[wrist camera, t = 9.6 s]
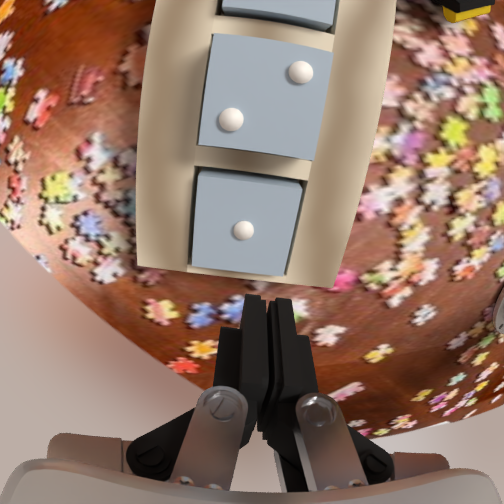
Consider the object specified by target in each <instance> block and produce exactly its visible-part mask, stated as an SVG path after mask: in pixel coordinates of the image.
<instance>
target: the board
mask: <svg viewBox="0 0 504 504" xmlns="http://www.w3.org/2000/svg"><path fill="white" fill-rule="evenodd" d="M396 1H397V0H336V3H335V10H334V17H333V24H332V26H330V27H329V28H328V29H326V30H325V31H324V32H321V31H317V30H313V29H308V28H304V27H299V26H294V25H289V24H283V23H278V22H271V21H265V20H258V19H250V18H241V17H231V16H225V15H224V12H223V8H222V4H223V0H156V4H155V8H154V13H153V18H152V24H151V29H150V35H149V41H148V47H147V53H146V60H145V67H144V75H143V83H142V92H141V102H140V113H139V126H138V141H137V162H136V244H137V265H138V266H145V267H152V268H160V269H167V270H175V271H183V272H191V273H199V274H207V275H216V276H224V277H233V278H242V279H251V280H260V281H269V282H278V283H288V284H298V285H308V286H318V287H329V288H333V285H334V282H335V279H336V276H337V273H338V270H339V267H340V264H341V261H342V258H343V255H344V252H345V248H346V245H347V242H348V239H349V235H350V232H351V229H352V225H353V222H354V218H355V215H356V211H357V208H358V204H359V200H360V197H361V193H362V189H363V185H364V181H365V177H366V174H367V169H368V165H369V161H370V157H371V153H372V149H373V144H374V140H375V135H376V131H377V126H378V121H379V116H380V111H381V106H382V101H383V95H384V90H385V84H386V78H387V72H388V66H389V60H390V53H391V46H392V38H393V30H394V21H395V12H396ZM214 33H220V34H232V35H242V36H250V37H258V38H265V39H271V40H277V41H283V42H288V43H294V44H299V45H303V46H308V47H312V48H317V49H321V50H325V51H329V52H333V53H334V55H333V61H332V67H331V73H330V78H329V84H328V90H327V96H326V101H325V106H324V112H323V117H322V123H321V128H320V133H319V138H318V143H317V148H316V153H315V158H314V161H312V160H306V159H301V158H295V157H289V156H283V155H277V154H270V153H263V152H256V151H249V150H242V149H234V148H225V147H216V146H207V145H198V144H199V135H200V126H201V118H202V110H203V102H204V94H205V87H206V80H207V73H208V67H209V60H210V54H211V48H212V42H213V36H214ZM204 166H205V167H215V168H223V169H232V170H240V171H248V172H255V173H262V174H269V175H276V176H282V177H289V178H295V179H297V181H298V183H299V184H300V186H301V188H302V194H301V199H300V204H299V208H298V213H297V217H296V222H295V227H294V231H293V236H292V240H291V244H290V249H289V253H288V258H287V262H286V266H285V270H284V275H283V277H282V276H273V275H264V274H255V273H246V272H237V271H228V270H220V269H211V268H203V267H195V266H192V252H193V236H194V221H195V208H196V195H197V184H198V175H199V174H200V172H201V170H202V169H203V167H204Z"/></svg>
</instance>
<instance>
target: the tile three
mask: <svg viewBox="0 0 504 504" xmlns="http://www.w3.org/2000/svg"><path fill="white" fill-rule="evenodd" d="M335 3H336V0H223V4H222V8H223V12H224V15H225V16H231V17H241V18H250V19H258V20H265V21H271V22H278V23H283V24H289V25H294V26H299V27H304V28H308V29H313V30H317V31H321V32H324V31H325V30H326V29H328V28H329V27H330V26H332V24H333V17H334V10H335Z"/></svg>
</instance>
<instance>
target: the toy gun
mask: <svg viewBox="0 0 504 504" xmlns="http://www.w3.org/2000/svg"><path fill="white" fill-rule="evenodd" d="M432 1H434V2H436V3H438V4H440V5H442V6H443V14H444V17H445V18H446V19H447V21H449V22H451V23H455V22H459V21H462V20H465V19H469V18H472V17H476V16H480V15H483V14H487V13H489V12H490V6H491V5H494V4H495V0H432Z"/></svg>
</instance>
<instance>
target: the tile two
mask: <svg viewBox="0 0 504 504" xmlns="http://www.w3.org/2000/svg"><path fill="white" fill-rule="evenodd" d="M333 55H334V53H333V52H329V51H325V50H321V49H317V48H312V47H308V46H303V45H299V44H294V43H288V42H283V41H277V40H271V39H265V38H258V37H250V36H242V35H232V34H220V33H214V36H213V42H212V48H211V54H210V60H209V67H208V73H207V80H206V87H205V94H204V102H203V110H202V118H201V126H200V135H199V144H198V145H207V146H216V147H225V148H234V149H242V150H249V151H256V152H263V153H270V154H277V155H283V156H289V157H295V158H301V159H306V160H312V161H314V158H315V153H316V148H317V143H318V138H319V133H320V128H321V123H322V117H323V112H324V106H325V101H326V96H327V90H328V84H329V78H330V73H331V67H332V61H333Z"/></svg>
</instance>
